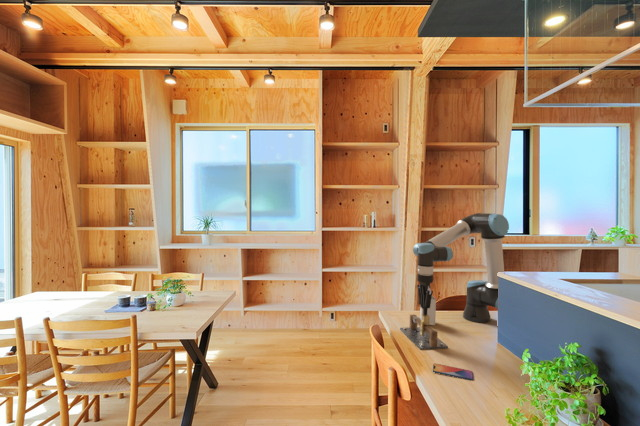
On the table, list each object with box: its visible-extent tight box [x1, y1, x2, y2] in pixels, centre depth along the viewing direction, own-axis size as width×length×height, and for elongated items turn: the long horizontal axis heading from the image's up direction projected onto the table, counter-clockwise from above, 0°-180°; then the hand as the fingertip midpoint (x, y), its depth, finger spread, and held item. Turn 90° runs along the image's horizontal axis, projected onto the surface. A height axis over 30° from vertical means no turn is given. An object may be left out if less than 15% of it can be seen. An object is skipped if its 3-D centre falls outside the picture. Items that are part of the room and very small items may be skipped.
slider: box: [419, 315, 430, 338], centre depth 165 cm, size 4×2×11 cm, turn 98°
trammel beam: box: [409, 314, 438, 347], centre depth 168 cm, size 3×25×7 cm, turn 8°
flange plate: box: [399, 326, 449, 350], centre depth 169 cm, size 14×25×2 cm, turn 8°
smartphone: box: [432, 363, 474, 381], centre depth 134 cm, size 7×15×1 cm, turn 68°
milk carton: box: [419, 295, 437, 326], centre depth 191 cm, size 7×7×19 cm
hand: (423, 320), depth 167 cm, fingers closed
